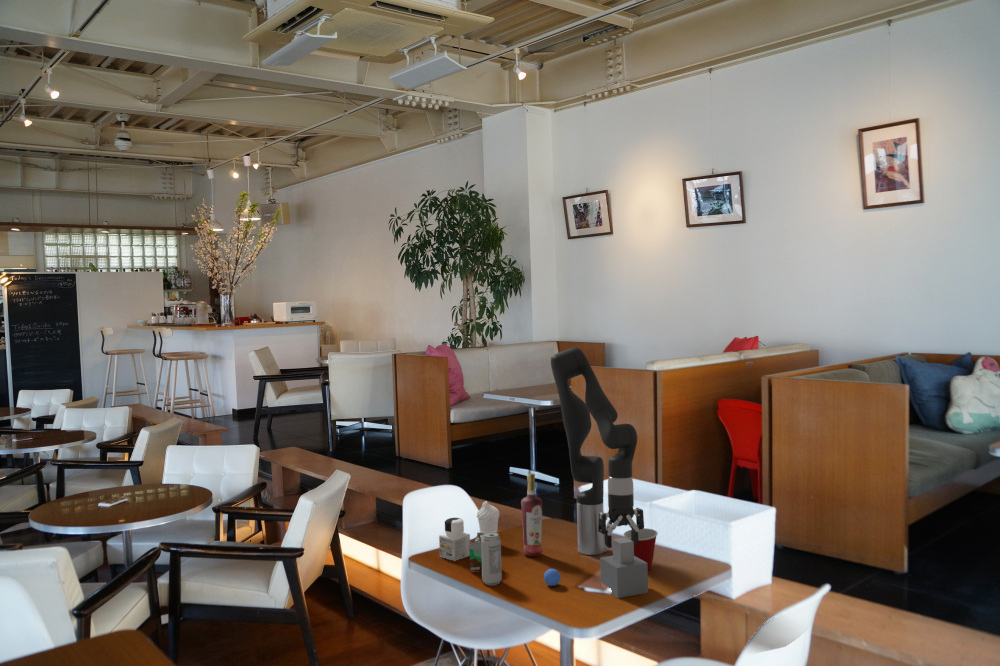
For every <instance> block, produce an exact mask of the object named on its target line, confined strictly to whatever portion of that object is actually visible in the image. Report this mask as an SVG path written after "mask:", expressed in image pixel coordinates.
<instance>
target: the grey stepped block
mask: <svg viewBox="0 0 1000 666" xmlns="http://www.w3.org/2000/svg"><path fill="white" fill-rule="evenodd" d="M599 567H600V569H599V571H600V572H599V573H600V574H599V575H600V583H601V582H602V583H603V584H605V585H606V586H608V587H609V588H611V590H612V594H611V595H612V596H614V598H616V599H621V598H627V597H631V596H637V595H644V594H649V580H648V579H649V577H648V574H649V571H648V566H647V563H646V562H645V561H643V560H641V559H639V558H637V557H636V556H634V541H632V540H630V539H628V538H626V537H625V536H624V537H618V538H612V555H609V556H602V557H599Z"/></svg>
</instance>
